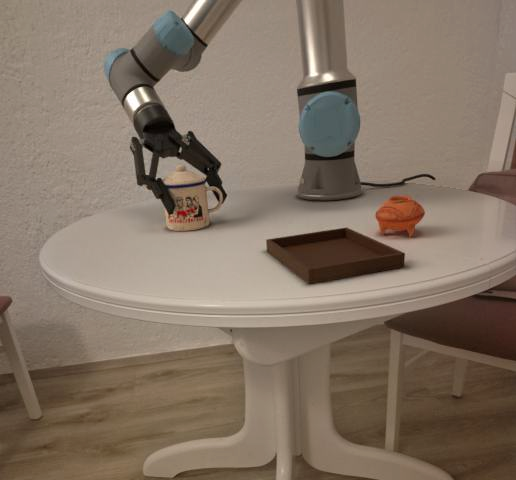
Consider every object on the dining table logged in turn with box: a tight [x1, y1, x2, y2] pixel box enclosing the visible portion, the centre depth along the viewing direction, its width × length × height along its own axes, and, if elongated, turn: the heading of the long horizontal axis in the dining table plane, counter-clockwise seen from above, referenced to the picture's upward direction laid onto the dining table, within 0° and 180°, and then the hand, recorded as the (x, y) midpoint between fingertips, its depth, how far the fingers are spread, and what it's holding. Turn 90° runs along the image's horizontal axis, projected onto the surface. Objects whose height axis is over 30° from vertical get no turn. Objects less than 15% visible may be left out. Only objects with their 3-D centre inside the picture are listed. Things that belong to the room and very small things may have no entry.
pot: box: [374, 194, 426, 238], centre depth 80 cm, size 8×8×7 cm
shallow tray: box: [265, 227, 406, 285], centre depth 71 cm, size 14×17×2 cm
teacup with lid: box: [161, 164, 223, 232], centre depth 95 cm, size 12×9×12 cm
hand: (198, 204), depth 93 cm, fingers closed on teacup with lid, 11 cm apart
